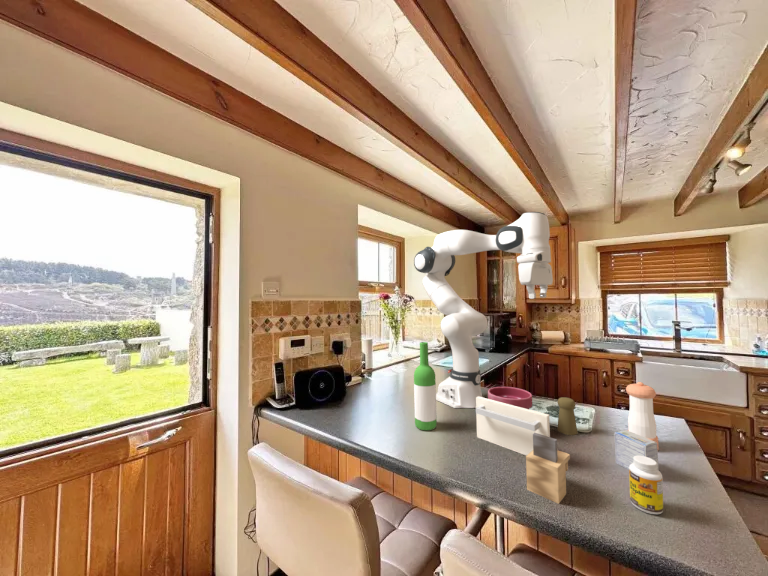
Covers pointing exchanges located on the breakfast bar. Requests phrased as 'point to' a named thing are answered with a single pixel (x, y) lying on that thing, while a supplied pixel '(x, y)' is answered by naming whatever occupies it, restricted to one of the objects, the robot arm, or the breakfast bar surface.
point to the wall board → (509, 425)
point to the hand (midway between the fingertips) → (537, 298)
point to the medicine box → (633, 448)
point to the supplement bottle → (646, 485)
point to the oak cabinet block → (547, 468)
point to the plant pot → (511, 396)
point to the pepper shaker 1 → (566, 416)
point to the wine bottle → (425, 392)
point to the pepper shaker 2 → (642, 411)
